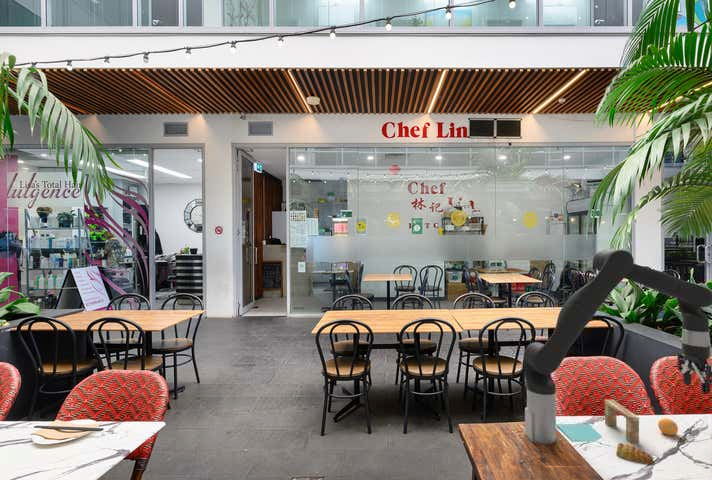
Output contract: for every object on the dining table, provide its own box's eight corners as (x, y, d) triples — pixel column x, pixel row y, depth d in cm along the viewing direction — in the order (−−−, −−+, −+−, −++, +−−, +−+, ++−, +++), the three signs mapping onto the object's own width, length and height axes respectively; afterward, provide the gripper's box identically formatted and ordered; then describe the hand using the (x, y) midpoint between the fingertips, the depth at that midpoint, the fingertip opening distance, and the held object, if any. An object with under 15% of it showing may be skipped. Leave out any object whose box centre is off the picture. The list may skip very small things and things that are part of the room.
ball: (665, 438, 136) (665, 422, 135) (654, 430, 141) (654, 415, 141) (682, 438, 135) (682, 423, 135) (670, 430, 141) (670, 415, 141)
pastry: (654, 460, 122) (654, 448, 122) (651, 469, 117) (651, 457, 118) (619, 450, 129) (618, 438, 129) (615, 459, 124) (614, 446, 124)
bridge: (629, 444, 132) (629, 417, 132) (605, 423, 146) (604, 399, 146) (639, 444, 132) (638, 417, 132) (613, 424, 146) (613, 399, 146)
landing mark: (571, 441, 134) (571, 440, 134) (556, 424, 146) (556, 424, 146) (607, 442, 134) (607, 441, 134) (589, 425, 146) (589, 424, 146)
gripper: (669, 337, 145) (670, 381, 145) (701, 348, 130) (701, 397, 130) (690, 337, 144) (691, 381, 144) (724, 348, 130) (725, 397, 130)
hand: (696, 388), depth 137 cm, fingers open, 7 cm apart
